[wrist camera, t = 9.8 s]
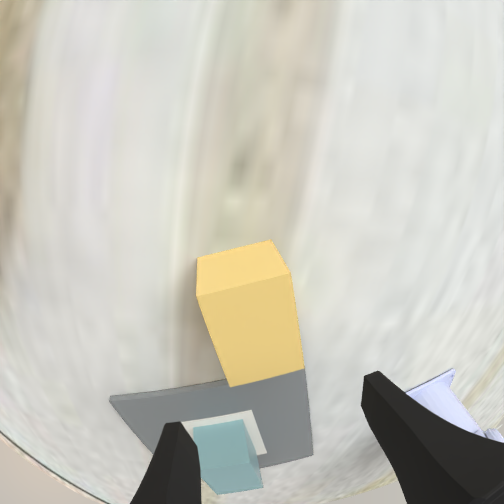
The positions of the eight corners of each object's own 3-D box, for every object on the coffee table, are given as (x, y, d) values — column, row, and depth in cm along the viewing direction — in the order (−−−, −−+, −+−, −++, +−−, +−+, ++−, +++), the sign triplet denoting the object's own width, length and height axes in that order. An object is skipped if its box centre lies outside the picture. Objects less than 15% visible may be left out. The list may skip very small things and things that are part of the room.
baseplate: (312, 451, 28) (313, 455, 28) (177, 475, 27) (177, 479, 27) (302, 360, 22) (304, 366, 21) (110, 396, 21) (108, 402, 20)
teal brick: (256, 450, 25) (263, 487, 21) (213, 458, 25) (217, 494, 21) (242, 419, 23) (250, 462, 19) (193, 427, 23) (194, 470, 18)
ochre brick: (286, 324, 20) (304, 368, 16) (224, 339, 20) (230, 387, 16) (270, 238, 18) (290, 272, 14) (197, 256, 18) (196, 296, 13)
